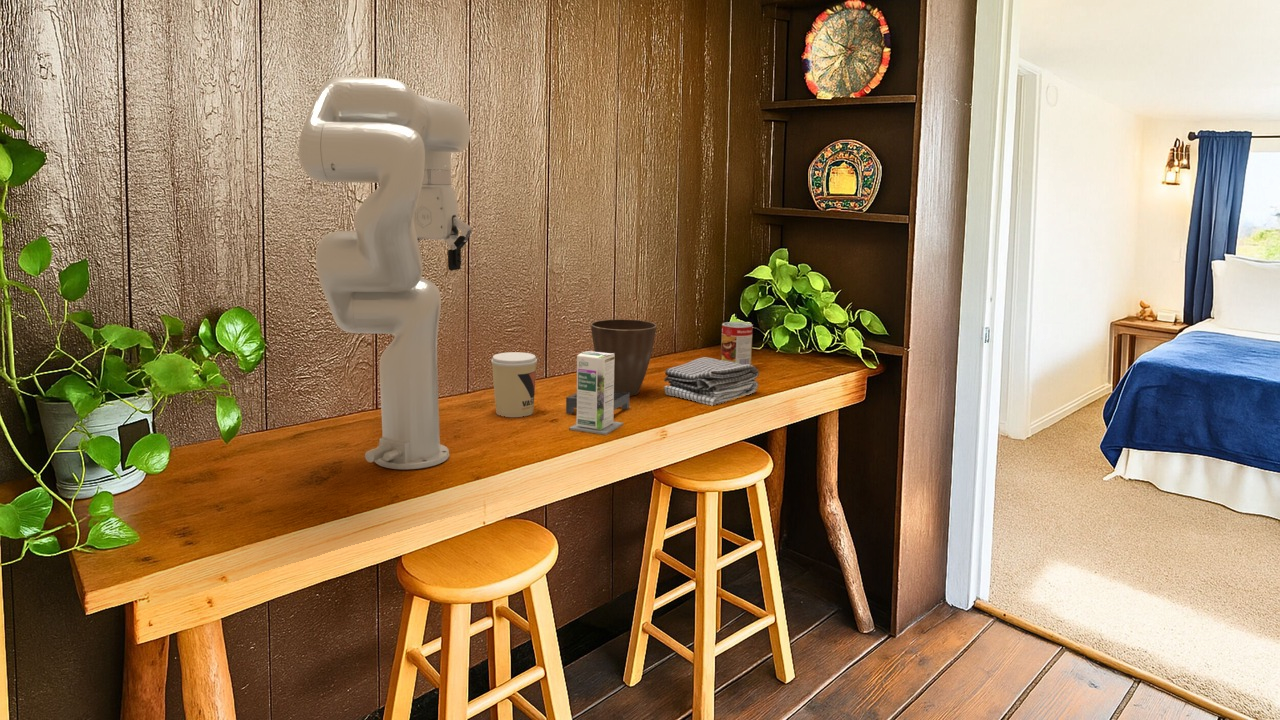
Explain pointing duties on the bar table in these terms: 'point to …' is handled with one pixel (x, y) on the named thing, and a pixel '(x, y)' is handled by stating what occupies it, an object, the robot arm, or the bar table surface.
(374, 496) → the bar table surface
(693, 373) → the towel
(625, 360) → the plant pot
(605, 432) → the slate mat
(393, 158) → the robot arm
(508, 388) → the coffee cup
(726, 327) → the canned food
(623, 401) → the collar stand
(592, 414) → the syrup box
